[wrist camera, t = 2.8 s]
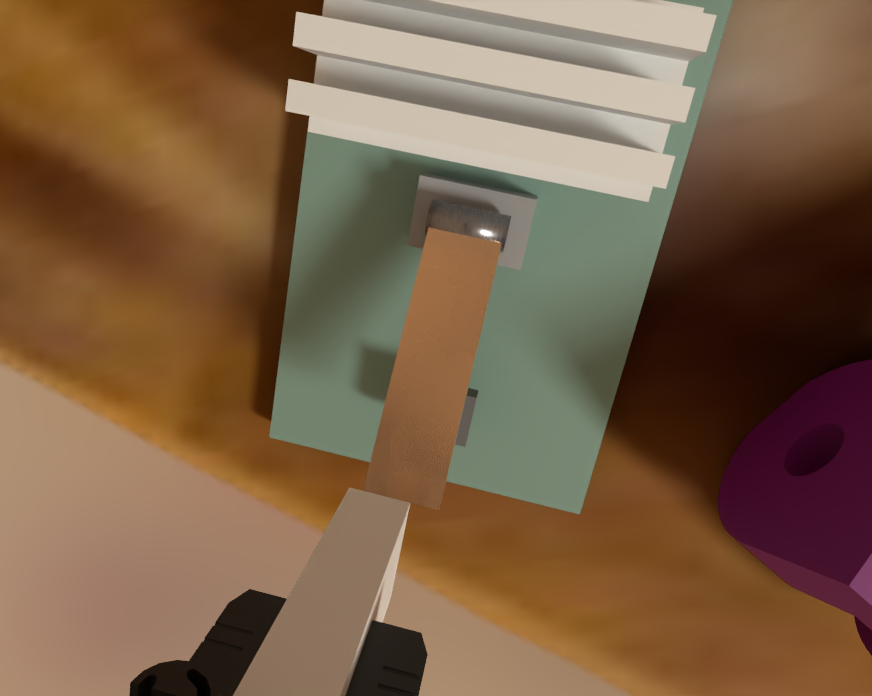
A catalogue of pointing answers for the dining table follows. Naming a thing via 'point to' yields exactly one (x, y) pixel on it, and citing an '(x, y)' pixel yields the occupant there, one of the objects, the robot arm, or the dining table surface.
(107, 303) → the dining table surface
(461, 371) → the strap
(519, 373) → the board
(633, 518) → the dining table surface
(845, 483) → the mounting bracket
